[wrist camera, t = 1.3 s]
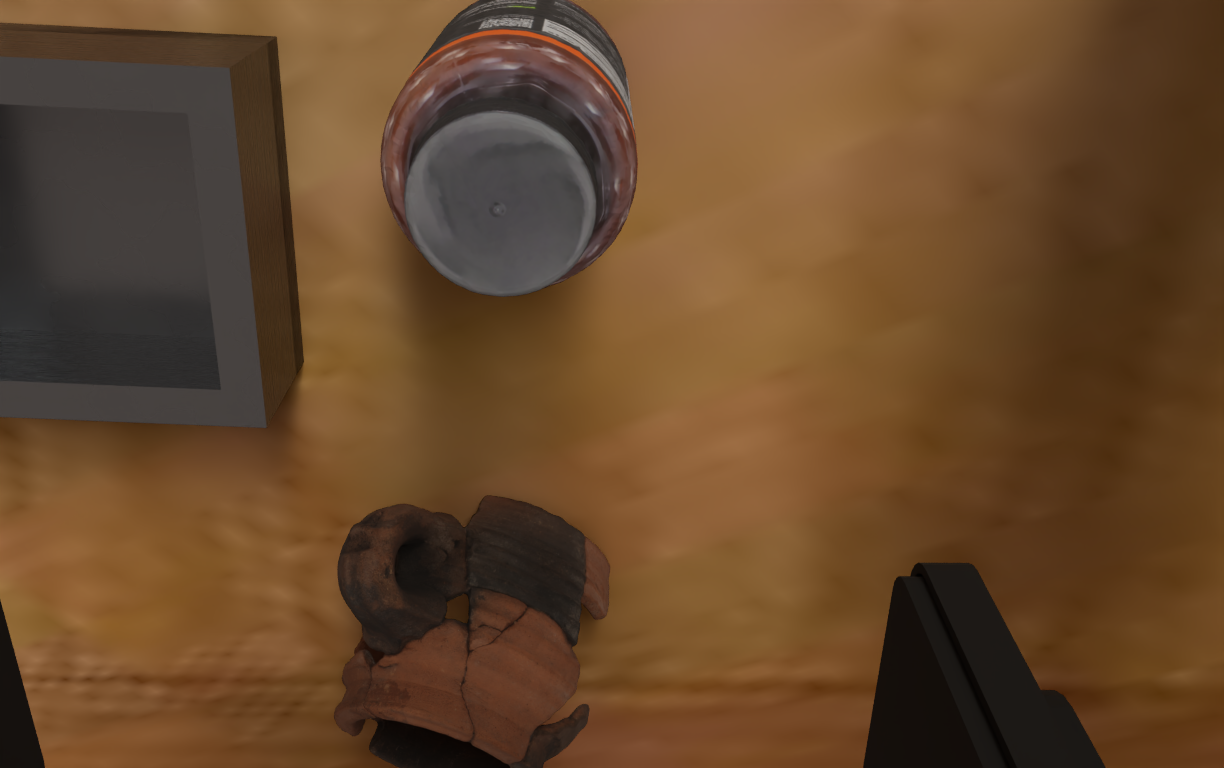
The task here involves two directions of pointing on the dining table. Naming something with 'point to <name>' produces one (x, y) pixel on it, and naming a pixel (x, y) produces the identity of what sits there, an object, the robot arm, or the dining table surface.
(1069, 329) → the dining table surface
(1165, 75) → the dining table surface
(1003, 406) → the dining table surface
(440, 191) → the supplement bottle
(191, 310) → the can holder
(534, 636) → the pottery mug
